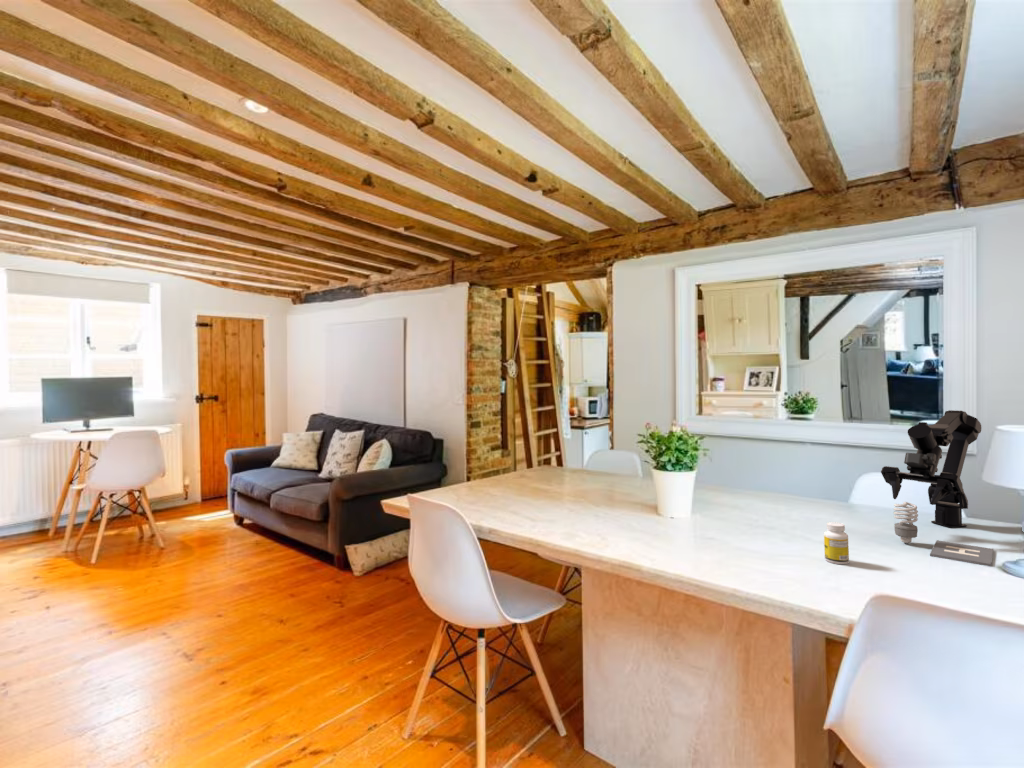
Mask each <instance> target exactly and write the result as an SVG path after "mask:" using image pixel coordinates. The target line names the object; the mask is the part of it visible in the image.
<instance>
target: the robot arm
mask: <svg viewBox="0 0 1024 768" xmlns="http://www.w3.org/2000/svg"><path fill="white" fill-rule="evenodd" d="M981 432H982V423H981V422H980V420H979V419H978V418H977V417H975V416H973V415H970V414H968V413H967V412H966V411H963V410H952V409H951V410H950V409H949V410H945V412H944V415H942V416H941V418H939V419H938V420H937V421H936V422H935V423H934V424H933V423H932V424H928V423H927V422H925V421H923V422H922V421H919V422H918V424H915V425H912V426H911V427H910V428H908V429H907V435H908V437H909V440H910V441H911V443H912V446H913V448H914V449H916V452H906V453H905V455H904V461H903V463H904V465H905V464H906V469H907V471H908V472H903V471H900V469H899V467H897V466H896V467H895V466H889V465H888V466H886V465H885V466H883V467H882V468H881V470H880V473H881V476H882V477H883V479H884V481H885V483H887V484H888V485H889V486H890V487H891V491H892V498H893V500H896V499H897V498H898V496H899V494H900V491H901V488H902V484H903V483H902V482H903V480H907V481H914V482H918V483H925V484H927V483H928V484H930V485H929V486H928V489H927V495H928V501H929V505H932V506H933V505H935V509H934V520H931V522H930V523H932V524H936V525H939V526H942V527H945V528H965V527H968V526H967V524H964V523H963V515H962V514H963V513H962V511H963V510H964V509H965V510H966V509H969V500H968V497H967V495H966V493H965V490H964V488H963V481H962V480H961V476H962V471H963V467H964V463H965V460H966V456H967V452H968V449H969V445H971V444H972V443H974V442H975V441H977V440H978V437H979V434H981ZM942 447H948V450H947V453H946V456H945V460H944V463H943V466H942V470H941V472H940V473H939V474H936V473H938V471H939V469H938V466H939V465H938V464H939V462H940V460H942V458H943V456H942V453H943V448H942Z"/></svg>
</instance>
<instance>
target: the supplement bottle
mask: <svg viewBox="0 0 1024 768" xmlns="http://www.w3.org/2000/svg"><path fill="white" fill-rule="evenodd" d="M826 529H827V530H826V531H824V533H823V538H824V539H823V540H824V541H823V542H824V543H823V546H824V559H825V561H826V562H828V563H831V564H836V565H846V564H847V565H848V564H849V563H850V554H849V552H850V551H849V549H850V548H849V535H848V534H847V532H845V530H846V527H845V524H844V523H842V522H836V521H835V522H834V521H833V522H832V521H829V522H826Z"/></svg>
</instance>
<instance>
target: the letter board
mask: <svg viewBox="0 0 1024 768" xmlns="http://www.w3.org/2000/svg"><path fill="white" fill-rule="evenodd" d="M993 555H994V548H991V547H983V546H978V545H977V546H975V545H969V544H965V543H957V542H951V541H944V540H939V539H938V540H937V539H936V540H935V543H934V545H933V547H932V549H931V551H930V553H929V556H930V557H933V558H941V559H946V560H951V561H958V562H964V563H969V564H975V565H981V566H985V567H986V566H987V567H992V562H993Z"/></svg>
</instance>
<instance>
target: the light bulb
mask: <svg viewBox="0 0 1024 768" xmlns="http://www.w3.org/2000/svg"><path fill="white" fill-rule="evenodd" d="M893 506H894V508H893V510H894V512H893V515H894V516H893V518H894V519H897V520H900V521H899V522H897V523H895V524H894V526H893V527H894V534H895V535H896V536H898V537H900V541H901V542H902V543H904V544H905V545H908V544H910V543H912V542H913V541H912V539H914V538H915V539H916V538H917V537H918V526H917V525H915V524H914V523H916V522H917V521H918V520H919V519H918V517H919V514H918V513H919V511H918V506H917V505H915V504H914V503H910V502H908V501H903V502H902V503H894V505H893Z"/></svg>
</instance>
